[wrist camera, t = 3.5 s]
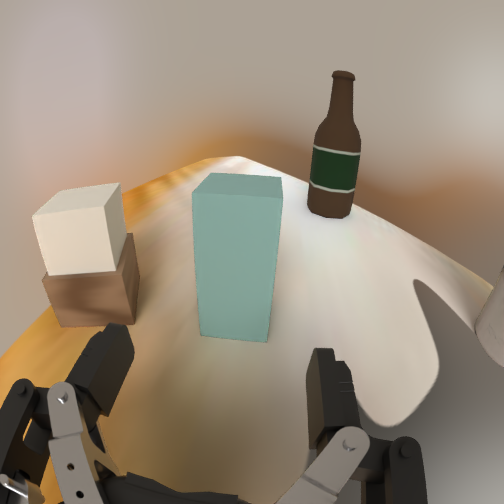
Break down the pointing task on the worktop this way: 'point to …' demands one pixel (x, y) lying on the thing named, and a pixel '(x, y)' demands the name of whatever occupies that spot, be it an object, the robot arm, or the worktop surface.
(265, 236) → the teal block
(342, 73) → the beer bottle
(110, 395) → the robot arm
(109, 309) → the walnut block
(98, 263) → the cream block
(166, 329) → the worktop surface
